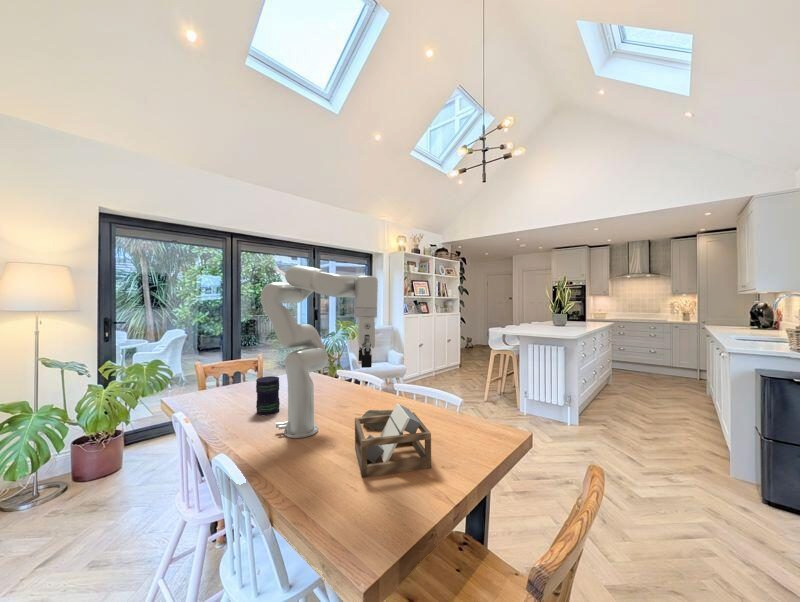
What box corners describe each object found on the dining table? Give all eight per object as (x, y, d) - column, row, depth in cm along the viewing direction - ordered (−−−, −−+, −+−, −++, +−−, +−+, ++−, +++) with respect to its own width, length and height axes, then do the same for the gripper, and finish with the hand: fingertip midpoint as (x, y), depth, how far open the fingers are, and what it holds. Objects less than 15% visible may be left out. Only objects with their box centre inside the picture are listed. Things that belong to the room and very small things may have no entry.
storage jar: (274, 415, 141) (274, 381, 140) (252, 415, 141) (251, 381, 141) (283, 407, 150) (282, 376, 150) (262, 407, 151) (261, 376, 151)
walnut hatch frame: (361, 477, 91) (361, 441, 91) (355, 448, 109) (354, 417, 109) (431, 467, 96) (430, 433, 96) (413, 441, 114) (413, 412, 114)
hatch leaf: (398, 470, 96) (384, 464, 94) (388, 448, 110) (375, 442, 109) (421, 424, 97) (407, 418, 96) (408, 408, 112) (396, 402, 111)
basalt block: (384, 450, 100) (372, 441, 99) (373, 463, 99) (361, 454, 98) (381, 443, 105) (370, 434, 104) (370, 456, 104) (359, 446, 103)
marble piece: (405, 418, 137) (405, 408, 137) (400, 432, 123) (400, 421, 123) (367, 416, 139) (367, 407, 139) (358, 430, 125) (358, 420, 125)
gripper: (381, 315, 99) (379, 369, 100) (373, 311, 116) (372, 358, 116) (356, 314, 97) (355, 370, 98) (352, 311, 114) (351, 358, 115)
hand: (364, 363), depth 107 cm, fingers open, 9 cm apart
